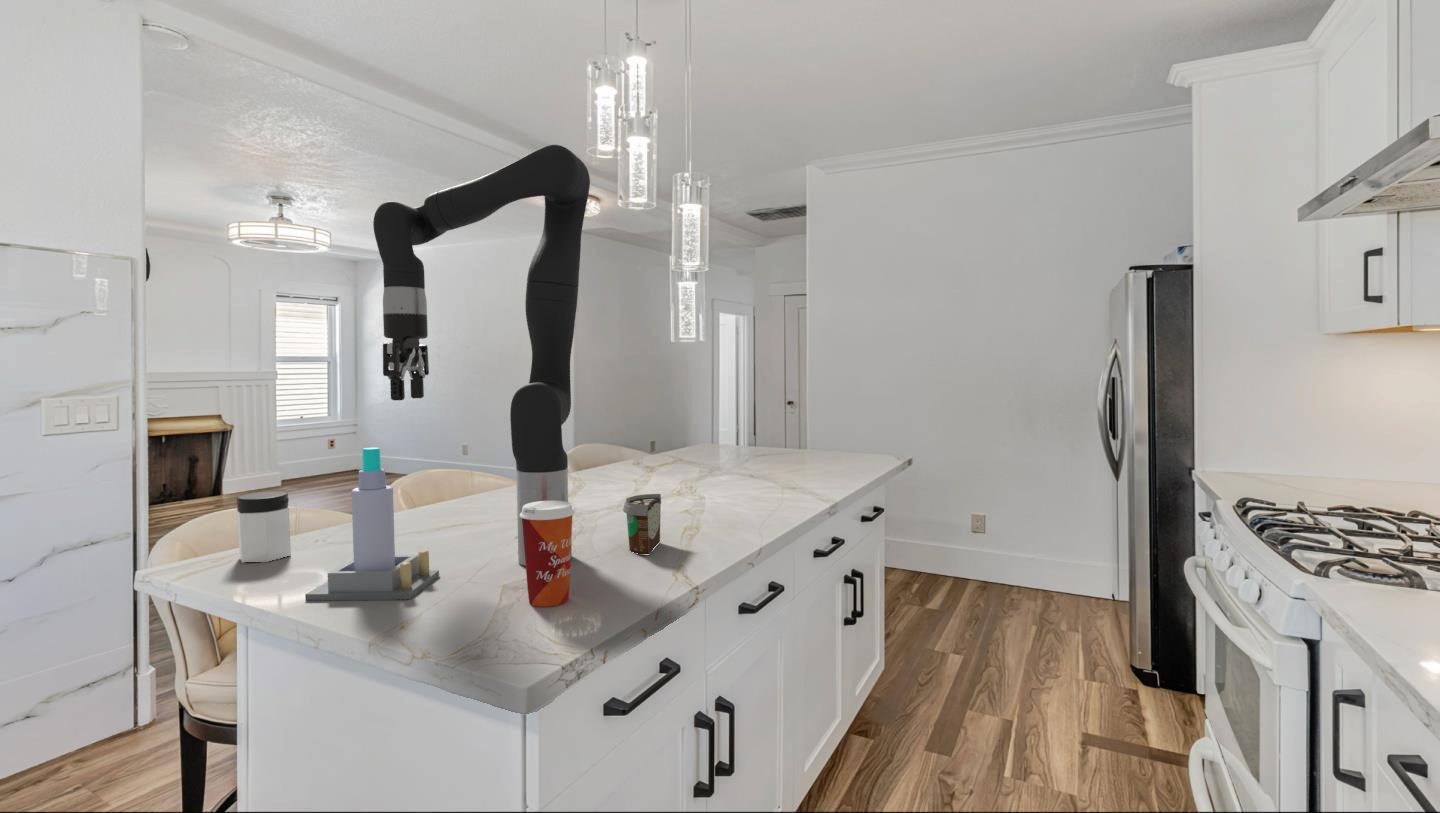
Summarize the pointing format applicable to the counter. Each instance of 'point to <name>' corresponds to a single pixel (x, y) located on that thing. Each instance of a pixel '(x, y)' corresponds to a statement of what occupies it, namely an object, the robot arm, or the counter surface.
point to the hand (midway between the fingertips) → (408, 399)
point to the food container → (643, 522)
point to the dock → (377, 581)
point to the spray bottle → (373, 517)
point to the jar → (263, 526)
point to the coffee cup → (547, 551)
